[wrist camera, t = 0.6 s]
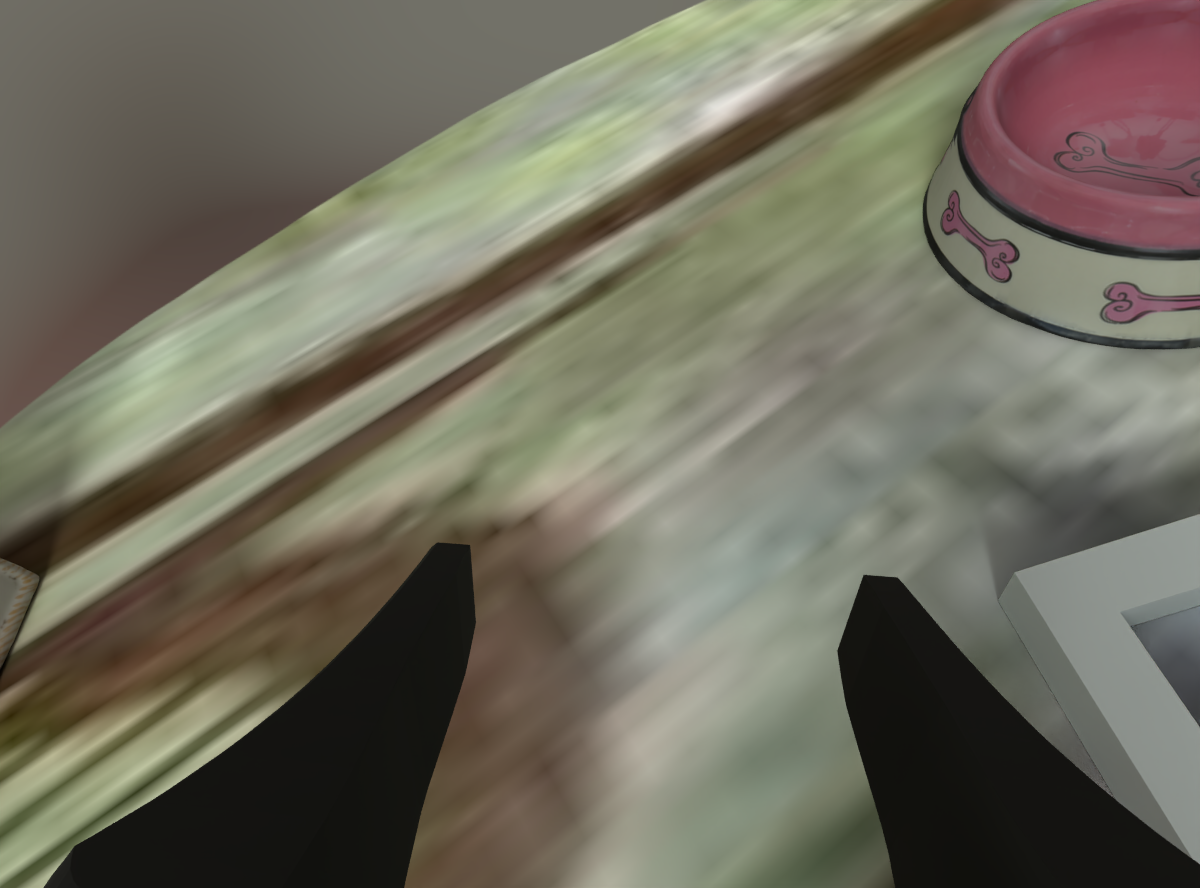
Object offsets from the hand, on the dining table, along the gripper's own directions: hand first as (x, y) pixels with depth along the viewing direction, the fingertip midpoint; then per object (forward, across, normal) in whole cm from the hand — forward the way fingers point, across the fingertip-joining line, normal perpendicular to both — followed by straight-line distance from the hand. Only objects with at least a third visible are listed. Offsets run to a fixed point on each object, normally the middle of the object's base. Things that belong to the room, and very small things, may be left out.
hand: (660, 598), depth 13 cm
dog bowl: (+28, -24, -1) cm, 37 cm away
